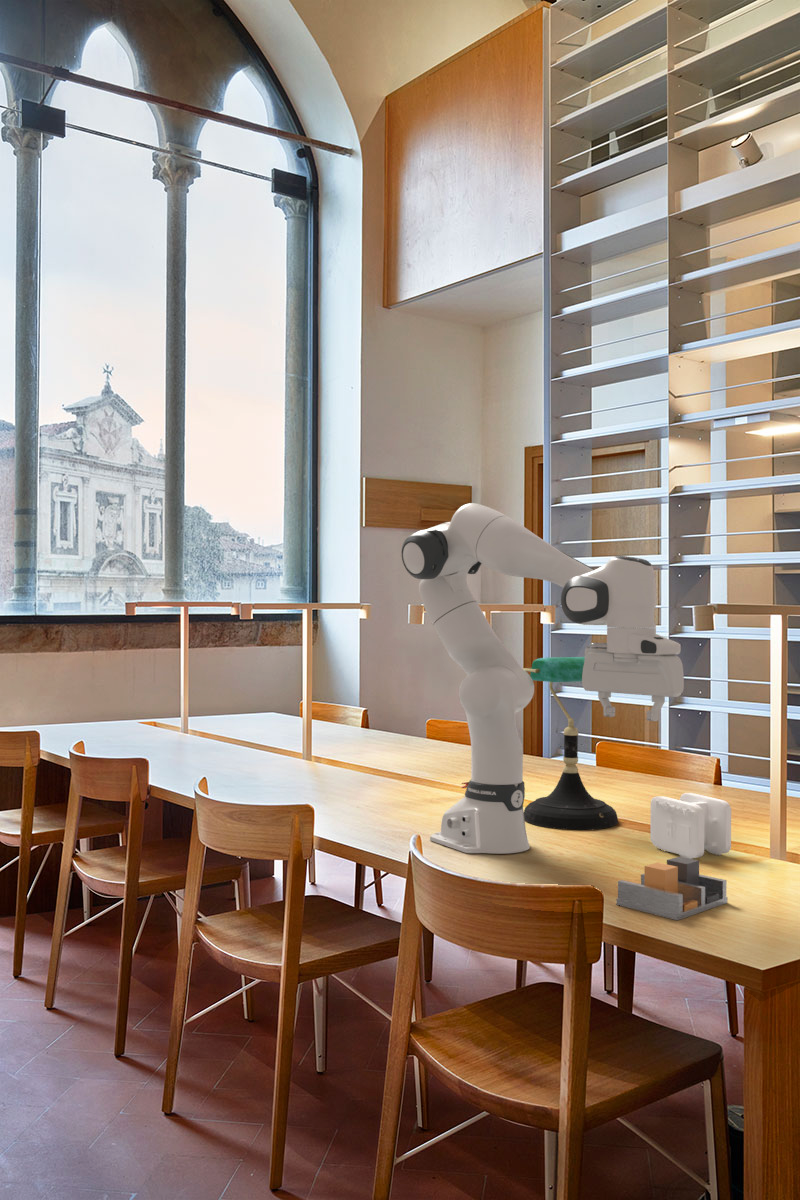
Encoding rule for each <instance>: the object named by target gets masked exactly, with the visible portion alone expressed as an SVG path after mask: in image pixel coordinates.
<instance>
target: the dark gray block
mask: <svg viewBox="0 0 800 1200" xmlns="http://www.w3.org/2000/svg"><path fill="white" fill-rule="evenodd" d="M666 864H667V865H672V866H676V867H678V881H681V882H685V883H689V884H694V885H698V886H699V874H700V860H699V859H698V860H697V859H695V858H693V859H689V858H684V857H681V856H677V857H673V858H668V859H666Z"/></svg>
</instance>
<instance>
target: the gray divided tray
mask: <svg viewBox="0 0 800 1200" xmlns="http://www.w3.org/2000/svg"><path fill="white" fill-rule="evenodd" d="M644 879H645V873H642V874H640V883H636V882H632V881H629V880H624V879H620V880H618V881H617V898H616V903H615V904H616V906H619V905H620V907H623V908H628V909H632V910H636V911H639V912H644V913H646V914H650V915H654V916H657V917H658V916H660V917H662V918H667V919H670V920H674V921H680V920H683V919H685V918H688V917H691V916H694V915H697V914H699V913H703V912H705V911H708V910H710V909H714V908H717V907H720V906H723V905H725V904H728V897H729V896H727V879H723V878H717V877H714V876H708V875H703V874H700V873H699V886H698V885H694V884H689V883H685V882H681V881H678V893H675V892H671V891H667V890H662V889H658V888H654V887H650V886H645V885H644Z"/></svg>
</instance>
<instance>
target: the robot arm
mask: <svg viewBox="0 0 800 1200" xmlns="http://www.w3.org/2000/svg"><path fill="white" fill-rule="evenodd" d="M401 560H402V564H403V566H404V568H405V571H407V573H408V574H409V575H410V576H411V577H413V578H415V579H417V580H420V581H419V584H418V593H419V596H420V599H421V601H422V604H423V608H424V610H425V613H426V614H427V616H428V619H429V621H430V623H431V624H432V627H433V628H434V630H435V632H436V634H437V636H438V637H439V640H440V642H441V644H442V645H443V647H444V648H445V650H446V652H447V654H448V656H449V657H450V659H452V660H453V661H454V662H455V663H456V664H457V665H458V666H459V667H460V668H461V669H462V670H463V671H464V672H465V674H466V676H465V677H464V678H463V679H462V680H461V682H460V684H459V689H458V700H459V703H460V705H461V707H462V709H463V710H464V713H465V716H466V717H465V718H466V722H467V727H468V732H469V737H470V739H469V740H470V746H471V747H470V748H471V749H470V751H471V754H470V755H471V757H470V759H471V760H470V761H471V762H470V763H471V764H470V765H471V768H470V769H471V773H470V774H471V775H470V778H471V779H469V781H466V782H462V783H461V785H463V786H461V788H462V789H466V790H465V792H464V796H463V797H462V798H460V799H459V800H458V801H457V802H456V803H455V804H453V805H452V806H451V807H449V809H447V810H446V811H445V812H444V814H443V815H442V817H441V823H440V831H438V832H435V833H433V834H431V835H430V837H429V841H431V842H434V843H437V844H439V845H443V846H446V847H449V848H451V849H455V850H457V851H459V852H463V853H464V854H495V855H496V854H503V855H504V854H516V853H522V852H526V851H528V850H529V849H530V848H531V847H530V843H529V840H528V835H527V829H526V823H525V822H526V821H525V820H524V802H525V796H526V795H525V794H526V793H525V792H526V790H525V789H526V788H525V782H524V781H523V778H524V776H523V774H524V769H523V767H524V762H523V760H524V759H523V757H524V746H523V742H522V741H521V738H520V735H519V731H518V728H517V727H518V726H517V721H516V714H517V713H518V712H521V711H522V710H523V709H525V708H527V706H528V705H529V704H530V703H531V701H532V699H533V697H534V695H535V683H534V680H532V678H531V676H530V674H529V672H527V671H525V670H524V669H523V667H522V666H521V665H520V664H519V662H518V661H517V660H516V658H515V656H514V655H513V654H512V653H511V652H510V651H509V649H508V648H507V647H506V646H505V644H504V643H503V642H502V641H501V640H500V638H499V637H498V635H497V634H496V633H495V631H494V629H493V628H492V626H491V625H490V623H489V621H488V619H487V617H486V616H485V614H484V612H483V610H482V609H481V606H480V605H479V603H478V601H477V600H476V598H475V597H474V595H473V593H472V591H471V590H470V587H469V586H468V582H467V581H468V580H467V577H468V575H476V574H477V573H478V571H479V569H480V568H481V565H483V566H485V567H486V568H488V569H490V570H492V571H495V572H498V573H500V574H502V575H505V576H509V577H516V578H527V579H535V580H542V581H547V582H550V583H552V584H555V585H557V586H559V587H561V588H562V591H561V594H560V605H561V609H562V612H563V614H564V615H565V617H566V618H567V619H568V620H569V621H571V622H573V623H576V624H578V625H583V626H607V627H606V642H591V643H590V644H589V645H588V646H586V648H585V650H584V657H585V661H584V666H583V674H582V681H581V686H582V687H583V689H584V691H587V692H597V693H598V694H597V696H598V697H597V698H598V701H599V702H600V704H601V706H602V707H603V717H605V718H606V717H607V718H614V717H615V716H616V707H615V706H612V703H611V701H610V699H609V698H611V697H612V694H624V695H639V696H640V695H641V696H649V697H650V696H651V702H652V703H653V705H652V706H651V708H650V710H646V720H647V721H649V722H658V721H659V720H660V719H659V718H660V711H661V709H662V707H663V706H664V704H665V701H666V700H665V698H666V697H667V698H676V697H677V698H678V697H680V696H681V694H683V692H684V689H685V687H684V686H685V679H684V677H685V676H684V665H683V663H682V662H683V661H682V660H681V658H680V657H679V656H678V655H680V653H681V652H682V651H681V649H682V648H681V647H682V646H681V644H680V642H677V641H675V640H672V639H669V638H667V637H664V636H663V635H659V634H657V624H656V621H655V610H656V607H657V585H656V583H657V582H656V575H655V570H654V566H653V564H651V562H650V561H648V560H646V559H644V558H638V557H633V556H628V555H627V556H626V555H616V556H613V557H610V559H609V560H608V561H607V562H606V563H604V564H603V565H601V566H599V567H598V568H596V569H594V568H593V567H591V566H589V565H587V564H586V563H584V562H582V561H580V560H579V559H576V558H574V557H572V556H570V555H569V554H566V553H565V552H563V551H561V550H560V549H558V548H556V547H555V546H553V545H552V544H550V543H549V542H548V541H546V540H545V539H542V538H541V537H539V536H538V535H537V534H535V533H534V532H532V531H531V530H529V529H528V528H526V527H525V526H524V525H522V524H520V523H519V522H518V521H516V520H515V519H513V518H511V517H510V516H508V515H506V514H505V513H502V512H500V511H498V510H496V509H494V508H491V507H489V506H486V505H484V504H480V503H476V502H470V503H466V504H463V505H461V506H460V507H459V508H458V509H456V511H455V512H454V514H453V515H452V517H451V520H450V521H445V522H442V523H440V524H439V523H438V525H435V526H431V527H429V528H427V529H421V530H418V531H416V532H413V533H412V534H410V535H409V536H408V537H407V538H406V539H404V541H403V543H402V546H401Z"/></svg>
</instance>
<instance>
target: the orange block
mask: <svg viewBox="0 0 800 1200" xmlns="http://www.w3.org/2000/svg"><path fill="white" fill-rule="evenodd" d="M644 874H645V879H644V885H645V886H650V887H654V888H658V889H662V890H667V891H671V892H675V893H678V867H676V866H672V865H667V863H662V862H654V863H651V864H647V865H644Z"/></svg>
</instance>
